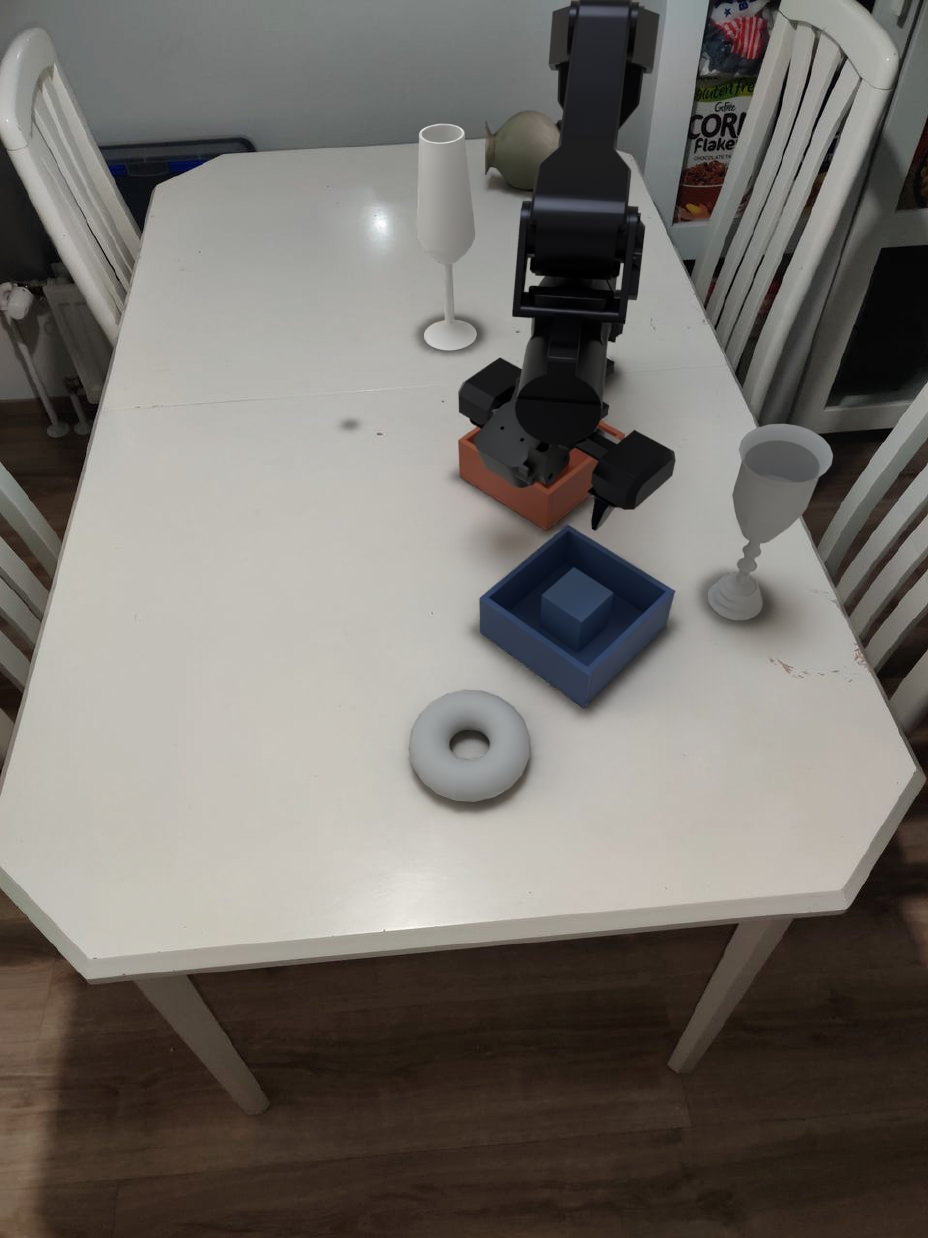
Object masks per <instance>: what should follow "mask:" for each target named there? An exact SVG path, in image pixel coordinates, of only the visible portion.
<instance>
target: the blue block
mask: <svg viewBox="0 0 928 1238" xmlns="http://www.w3.org/2000/svg"><path fill="white" fill-rule="evenodd" d="M612 599H613V592H612V591H610V590H609V589H607V588H606V587H604V586H603V585H601V584H599V583H598V582H596V581H595V580H593V579H592V578H590V577H589V576H587V575H585V574H584V573H582V572H581V571H579V570H578V569H576V568H575V567H573V568H572V569H571V570H570V571H569V572H568V573H566V574H565V575H564V576H563V577H562V578H561V579H560V580H558V581H557V582H556V583H555V584H554V585H553V586H552V587H550V588H549V589H548V590H547V591H546V592H545V593H544V594H542V599H541V613H540V627H541V628H543V629H544V630H546V631H547V632H549V633H550V634H551V635H553V636H554V637H556V638H557V639H559V640H560V641H561V642H563V643H564V644H566V645H567V646H569V647H570V648H571V649H573V650H574V651H576V652H577V653H578V652H579V651H580V650H581V649H582V648H583V647H584V646H585V645H586V644H587V643H588V642H589V641H590V640H592V639H593V638H594V637H595V636H596V635H597V634H598V633H599V632H600V631H601V630H602V629H603V628H604V627H605V626H606V625H607V624H608V622H609V616H610V610H611V604H612Z"/></svg>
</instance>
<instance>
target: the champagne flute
mask: <svg viewBox="0 0 928 1238" xmlns="http://www.w3.org/2000/svg"><path fill="white" fill-rule="evenodd" d="M466 143H467V142H466V135H465V130H464V129H463V128H461V127H460V126H459V125H455V124H452V123H437V124H436V123H435V124H431V125H428V126H426V127H424V128H422V129H421V130H420V131H419V133H418V163H417V164H418V165H417V167H418V168H417V202H416V203H417V204H416V205H417V206H416V207H417V209H416V211H417V212H416V240H417V243H418V244H419V245H420V247H421V249H422V250H423V252H424V253H425V254H426V255H427V256H429V258H431V259H433V260H434V261H435V262H437V263H438V264H441V266H442V288H443V306H444V308H443V310H444V319H442V320H439V321H437V322H433V323H432V324H430V325H429V326H428V327H427V328H426V329H425V331H424V334H423V338H424V341H425V342H426V343H427V344H428V345H429V346H430V347H432V348H434V349H437V350H440V351H458V350H462V349H464V348H468V347H469V346H470V345H472V344H473V343H474V342H475V341H476V340H477V339H476V338H477V330H476V328H475V327H474V326H473V325H472V324H471V323H469V322H466V321H463V320H459V319H455V305H454V303H455V300H454V298H455V297H454V296H455V295H454V272H453V264H455V263H457V262H458V261H459V260H461V259H462V257H463V256H465V255H466V254H467V253H468V251H470V249H471V247H472V246H473V243H474V242H475V239H476V227H475V217H474V208H473V198H472V189H471V180H470V173H469V164H468V163H469V162H468V153H467V144H466Z"/></svg>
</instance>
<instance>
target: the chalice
mask: <svg viewBox="0 0 928 1238" xmlns="http://www.w3.org/2000/svg"><path fill="white" fill-rule="evenodd" d="M738 447H739V448H738V453H739V456H740V460H741V462H740V466H739V470H738V474H737V477H736V479H735V484H734V487H733V491H732V494H731V495H732V502H733V503H732V504H733V509H734V514H735V518H736V521H737V523H738V524H737V525H738V527H739V529H740V532H741V534H742V536H743V537H744V539H746V540H747V541H748V542H747V544H745V545H744V546H742V549H741V551H742V553H743V558H740V559H738V560H737V562H736V567H737V568H738V571H733V572H730V573H726V574H725V575H723V576H721V578H720V579H719V580H717V581H716V583H715V582H714V584H712V586H711V587H710V588H709V590H708V593H707V600H708V604H709V606H710V607H711V609H712V610H713V611H714V612H715V613H717V614H718V616H721V617H723V618H725V619H727V620H732V621H747V620H750V619H753V618H754V617H756V616H758V615H759V614H760V612H761V610H762V609H763V605H764V604H763V603H764V601H763V598H762V592H761V589H760V585H759V583H758V581H757V580H756V579H755V578H754V577H752V576H751V575H750V574H751V573H753V572H754V571H756V570H757V568H758V564H757V562H756V561H755V560H756V558H758V557H759V556H761V554H762V550H761V544H766V543H769V542H771V541H772V540H774V539H776V538H777V537H778V536H779V535H781V534H782V533H784V532H785V531H786V530H788V529H790V527H792V525H793V524H795V522H796V521H798V519H800V517H801V516H803V514H804V513H805V511H806V510H807V508H808V507H809V504H810V502H811V498H812V496H813V493H814V491H815V489H816V486H817V484H818V481H819V479H820V477H822V475H824V474H826V472H827V471H828V470H829V469H830V467H831V466H832V464H833V457H834V454H833V451H832V449H831V446H830V445H829V443H828V442H827V441H826V439H824V438H823V437H822V436H821V435H819V434H818V433H816V432H815V431H813V430H811V429H809V428H806V427H803V426H800V425H796V424H789V423H771V424H766V425H762V426H759V427H758V426H757V427H756V428H754V429H752V430H751V431H748V432H747V433H746V434H745V436H743V438H742V439H741V440H740V444H739V446H738Z"/></svg>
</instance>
